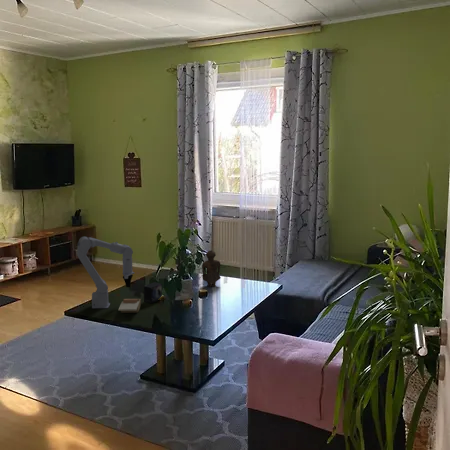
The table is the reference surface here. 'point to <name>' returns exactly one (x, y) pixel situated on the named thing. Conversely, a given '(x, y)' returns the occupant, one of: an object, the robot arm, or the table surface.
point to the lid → (129, 305)
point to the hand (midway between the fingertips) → (128, 287)
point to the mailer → (134, 310)
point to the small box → (152, 292)
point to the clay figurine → (211, 269)
